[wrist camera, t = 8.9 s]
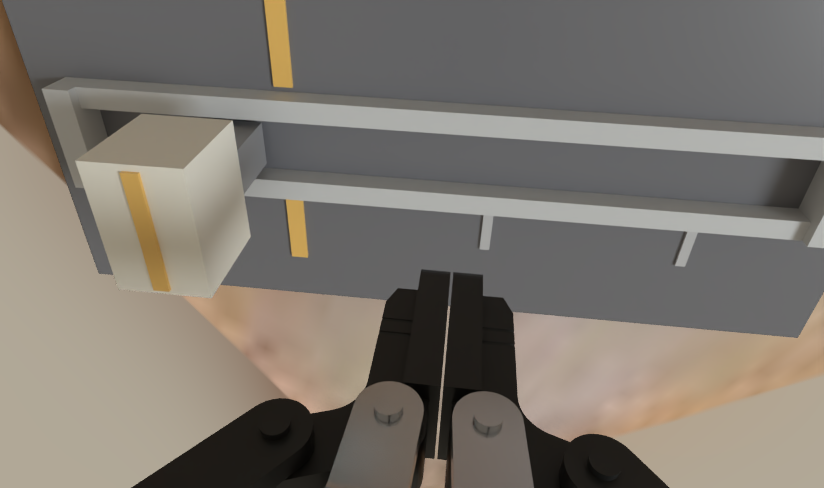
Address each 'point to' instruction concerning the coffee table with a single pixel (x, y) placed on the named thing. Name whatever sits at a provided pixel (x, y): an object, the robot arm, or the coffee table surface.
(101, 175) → the fader
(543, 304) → the console
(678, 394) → the coffee table surface
